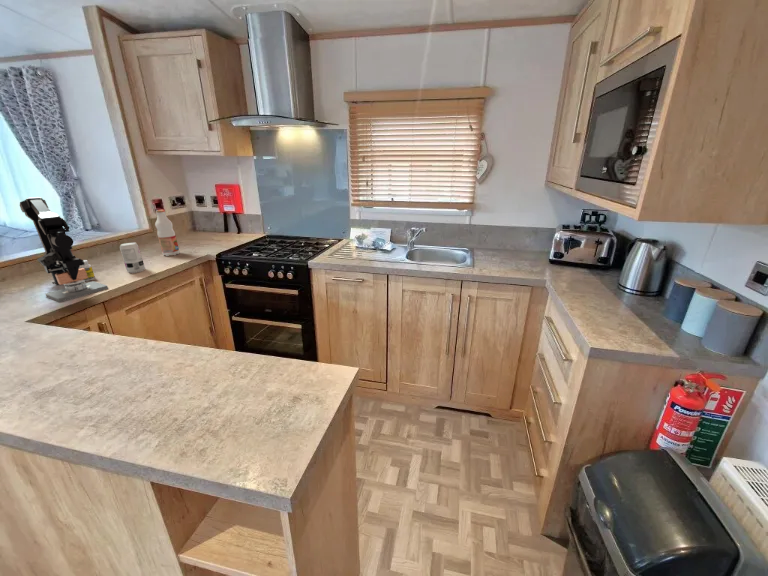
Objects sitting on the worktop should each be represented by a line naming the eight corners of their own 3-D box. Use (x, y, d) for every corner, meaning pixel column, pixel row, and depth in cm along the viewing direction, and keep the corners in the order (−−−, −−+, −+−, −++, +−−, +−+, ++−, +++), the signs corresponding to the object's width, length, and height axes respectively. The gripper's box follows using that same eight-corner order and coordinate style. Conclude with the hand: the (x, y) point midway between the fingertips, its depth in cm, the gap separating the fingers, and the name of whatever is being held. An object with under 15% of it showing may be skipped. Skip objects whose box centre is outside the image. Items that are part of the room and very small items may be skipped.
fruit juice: (161, 254, 215) (149, 210, 204) (177, 251, 221) (166, 208, 211) (165, 257, 208) (153, 211, 198) (181, 254, 214) (170, 209, 204)
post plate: (46, 296, 150) (42, 288, 148) (94, 284, 164) (91, 276, 163) (59, 302, 143) (56, 293, 142) (108, 288, 158) (105, 280, 156)
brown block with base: (58, 291, 151) (51, 273, 148) (85, 284, 159) (79, 267, 156) (67, 294, 147) (60, 276, 144) (94, 287, 155) (88, 269, 152)
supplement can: (123, 272, 181) (115, 245, 176) (139, 268, 188) (131, 241, 183) (133, 273, 178) (125, 246, 173) (148, 269, 185) (141, 242, 180)
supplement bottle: (87, 281, 168) (80, 262, 164) (79, 281, 169) (72, 262, 165) (98, 278, 173) (91, 259, 169) (89, 277, 174) (83, 259, 170)
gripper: (27, 247, 144) (41, 281, 149) (44, 252, 135) (59, 288, 141) (60, 241, 153) (72, 274, 158) (78, 246, 144) (90, 280, 150)
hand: (73, 279), depth 151 cm, fingers open, 3 cm apart
